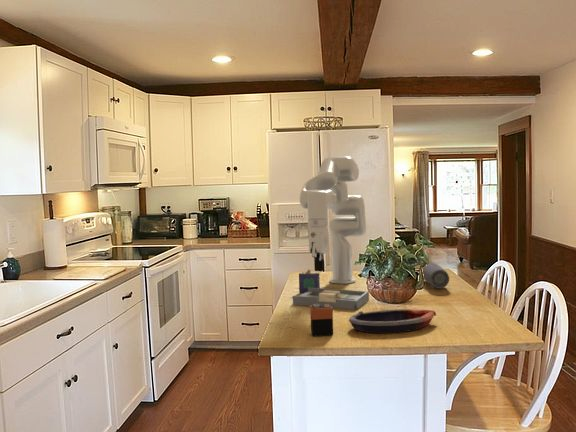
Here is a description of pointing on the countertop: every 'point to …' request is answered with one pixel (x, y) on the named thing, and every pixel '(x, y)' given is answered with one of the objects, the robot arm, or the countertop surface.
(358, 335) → the countertop surface
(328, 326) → the battery
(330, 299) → the beech block
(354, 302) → the board
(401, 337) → the countertop surface
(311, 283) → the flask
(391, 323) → the dish
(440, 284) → the bluetooth speaker
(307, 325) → the countertop surface
